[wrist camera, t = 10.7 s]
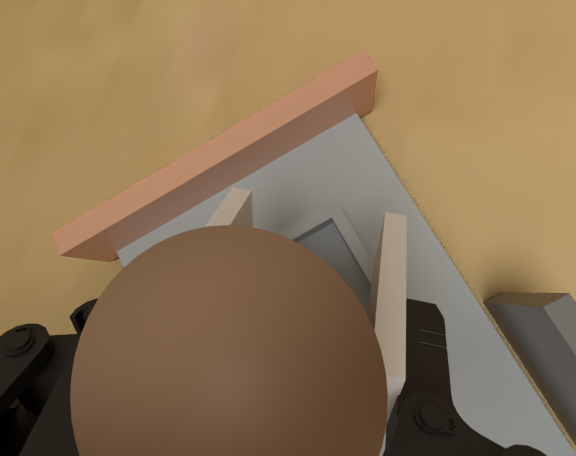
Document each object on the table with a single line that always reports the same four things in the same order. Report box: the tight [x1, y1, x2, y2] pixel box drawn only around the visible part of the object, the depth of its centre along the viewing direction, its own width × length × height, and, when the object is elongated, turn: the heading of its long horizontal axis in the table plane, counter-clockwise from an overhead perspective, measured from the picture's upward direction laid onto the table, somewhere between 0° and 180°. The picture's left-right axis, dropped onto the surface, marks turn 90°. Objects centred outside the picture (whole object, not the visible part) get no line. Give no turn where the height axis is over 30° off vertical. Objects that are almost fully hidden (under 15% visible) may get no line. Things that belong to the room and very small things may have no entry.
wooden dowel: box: [70, 225, 388, 456], centre depth 12 cm, size 5×5×12 cm
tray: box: [51, 50, 576, 456], centre depth 18 cm, size 20×17×4 cm
